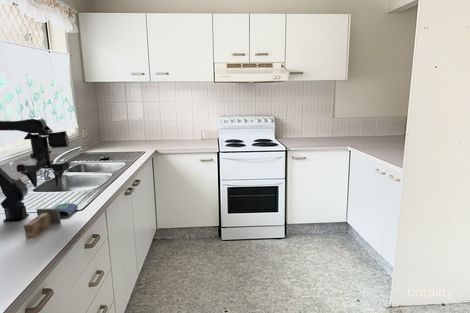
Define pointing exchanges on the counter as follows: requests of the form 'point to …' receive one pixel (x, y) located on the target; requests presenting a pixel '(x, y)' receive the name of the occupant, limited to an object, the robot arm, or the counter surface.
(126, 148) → the counter surface
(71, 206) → the blue painted container
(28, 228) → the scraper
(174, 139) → the counter surface
